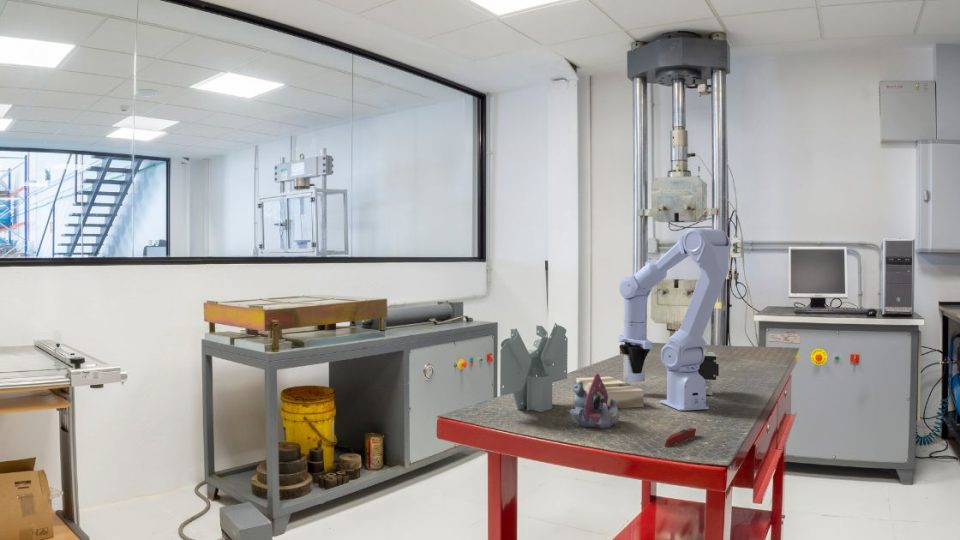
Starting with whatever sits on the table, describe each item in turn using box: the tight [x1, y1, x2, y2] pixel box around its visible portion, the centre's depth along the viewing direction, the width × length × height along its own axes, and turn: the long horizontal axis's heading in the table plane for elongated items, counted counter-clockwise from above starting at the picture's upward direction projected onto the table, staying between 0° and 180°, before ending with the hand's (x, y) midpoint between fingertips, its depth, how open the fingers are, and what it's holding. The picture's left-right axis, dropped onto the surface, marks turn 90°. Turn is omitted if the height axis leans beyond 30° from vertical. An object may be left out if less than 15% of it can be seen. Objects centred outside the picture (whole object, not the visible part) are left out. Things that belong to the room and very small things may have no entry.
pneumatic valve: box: [698, 348, 720, 396], centre depth 164 cm, size 6×12×12 cm, turn 163°
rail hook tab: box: [622, 353, 646, 383], centre depth 164 cm, size 2×5×7 cm, turn 104°
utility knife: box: [664, 427, 697, 448], centre depth 122 cm, size 12×1×2 cm, turn 133°
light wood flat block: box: [575, 376, 645, 409], centre depth 157 cm, size 18×10×4 cm, turn 14°
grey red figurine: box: [567, 372, 620, 429], centre depth 135 cm, size 11×11×12 cm
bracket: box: [499, 322, 569, 413], centre depth 148 cm, size 28×7×20 cm, turn 139°
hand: (634, 372), depth 164 cm, fingers closed on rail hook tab, 2 cm apart
